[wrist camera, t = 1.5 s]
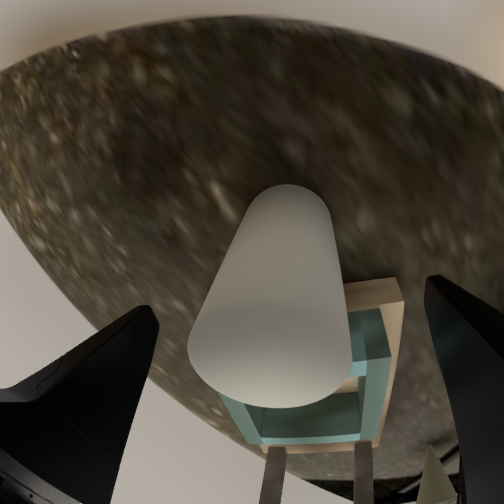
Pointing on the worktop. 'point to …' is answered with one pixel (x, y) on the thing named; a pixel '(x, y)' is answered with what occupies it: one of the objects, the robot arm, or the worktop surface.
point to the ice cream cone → (435, 482)
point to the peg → (276, 307)
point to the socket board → (337, 397)
